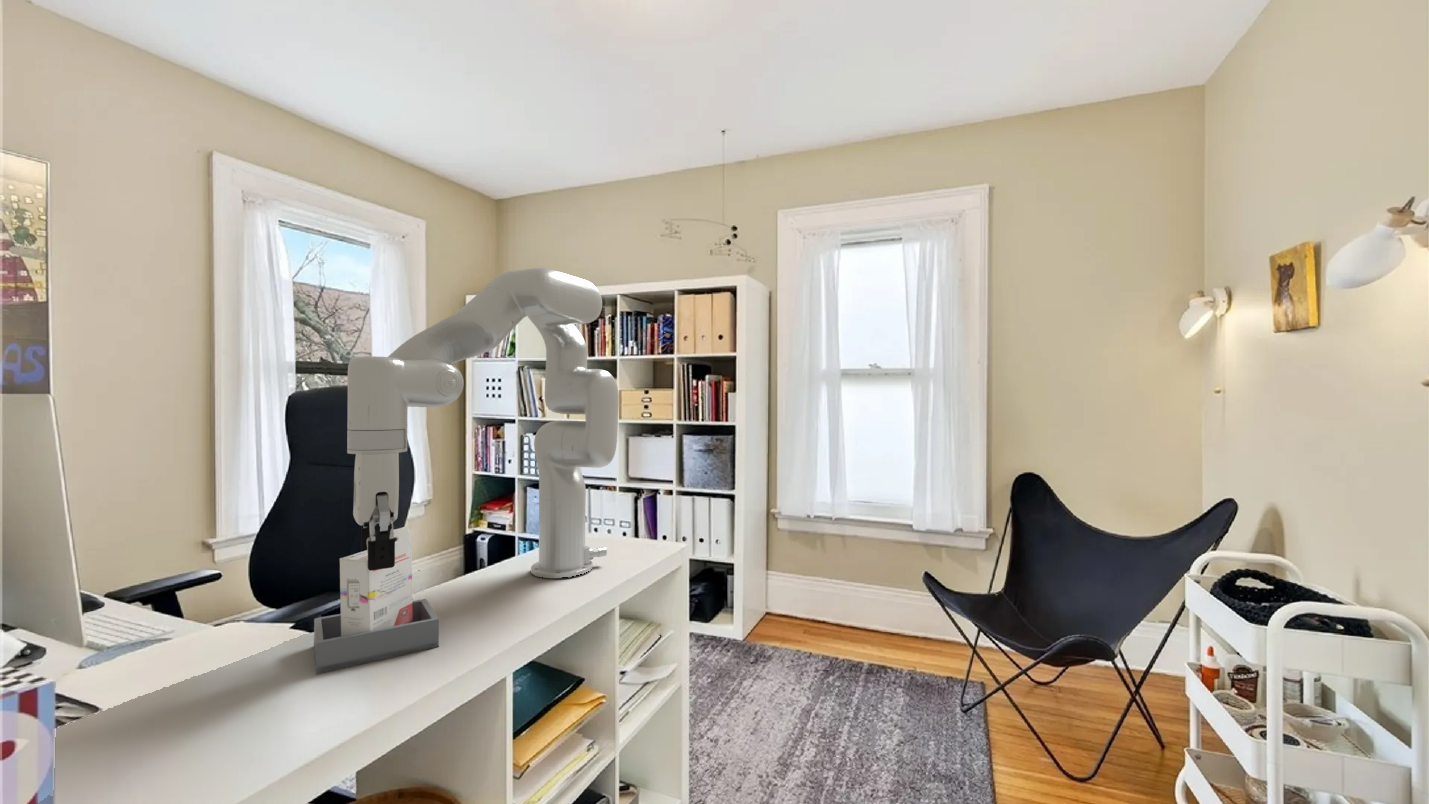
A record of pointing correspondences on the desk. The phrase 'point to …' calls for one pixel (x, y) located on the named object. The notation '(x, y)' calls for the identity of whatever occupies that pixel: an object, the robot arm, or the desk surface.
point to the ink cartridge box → (376, 589)
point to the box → (373, 640)
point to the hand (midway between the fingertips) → (377, 560)
